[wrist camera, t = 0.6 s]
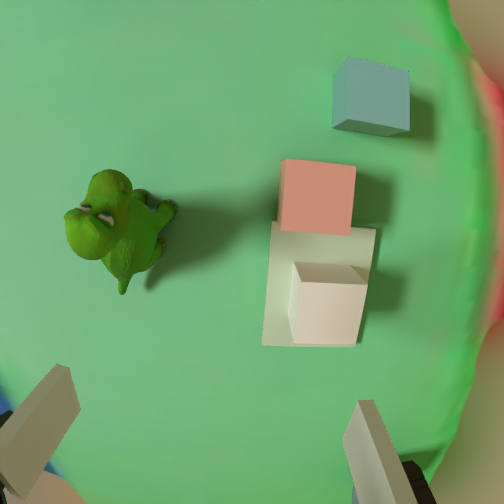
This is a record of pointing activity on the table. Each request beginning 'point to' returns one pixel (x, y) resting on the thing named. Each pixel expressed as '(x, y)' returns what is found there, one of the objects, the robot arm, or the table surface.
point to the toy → (118, 226)
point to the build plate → (307, 253)
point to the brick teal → (371, 98)
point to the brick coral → (315, 197)
